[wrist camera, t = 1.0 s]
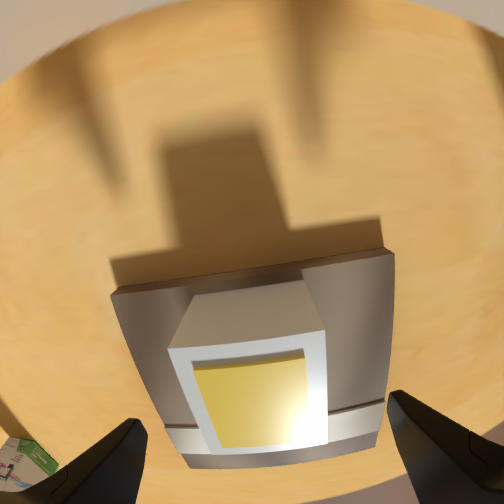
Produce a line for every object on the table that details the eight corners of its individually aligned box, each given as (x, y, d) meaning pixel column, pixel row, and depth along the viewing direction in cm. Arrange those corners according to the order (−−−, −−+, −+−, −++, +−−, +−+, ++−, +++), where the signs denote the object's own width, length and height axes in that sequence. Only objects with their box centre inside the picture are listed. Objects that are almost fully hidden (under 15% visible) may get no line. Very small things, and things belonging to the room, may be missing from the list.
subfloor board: (384, 247, 13) (396, 254, 12) (370, 436, 17) (375, 448, 16) (119, 286, 14) (108, 296, 13) (192, 457, 18) (189, 470, 17)
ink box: (34, 439, 20) (-6, 502, 8) (61, 466, 21) (28, 528, 10) (8, 435, 21) (-28, 485, 9) (31, 459, 22) (0, 510, 11)
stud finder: (303, 279, 13) (326, 332, 8) (312, 381, 14) (327, 446, 10) (194, 295, 13) (165, 352, 8) (221, 392, 14) (211, 458, 10)
